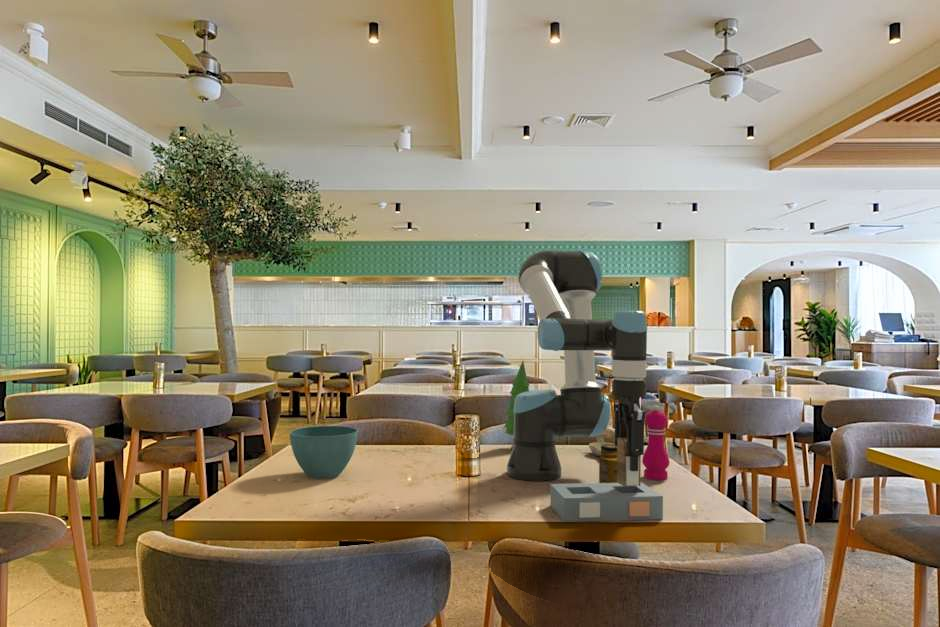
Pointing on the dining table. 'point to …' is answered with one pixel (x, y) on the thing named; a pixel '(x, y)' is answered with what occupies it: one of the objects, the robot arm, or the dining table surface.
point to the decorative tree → (518, 387)
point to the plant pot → (323, 449)
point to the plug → (623, 461)
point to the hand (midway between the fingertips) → (628, 482)
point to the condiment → (608, 464)
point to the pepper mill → (655, 446)
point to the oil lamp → (599, 443)
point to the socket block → (605, 502)
